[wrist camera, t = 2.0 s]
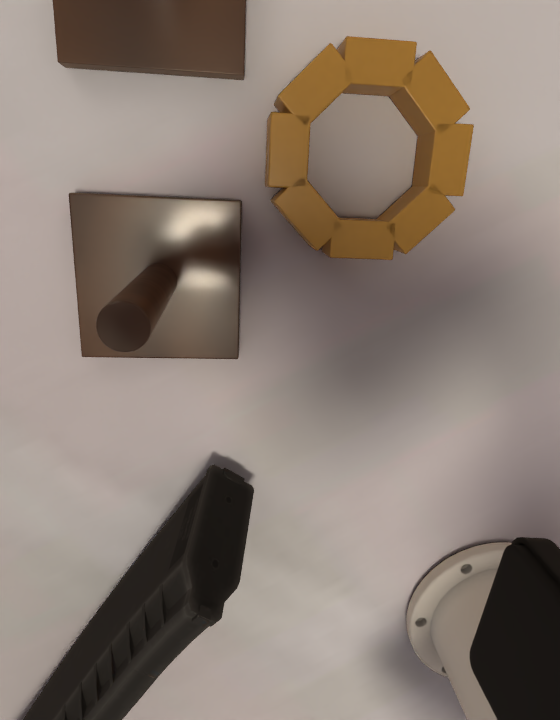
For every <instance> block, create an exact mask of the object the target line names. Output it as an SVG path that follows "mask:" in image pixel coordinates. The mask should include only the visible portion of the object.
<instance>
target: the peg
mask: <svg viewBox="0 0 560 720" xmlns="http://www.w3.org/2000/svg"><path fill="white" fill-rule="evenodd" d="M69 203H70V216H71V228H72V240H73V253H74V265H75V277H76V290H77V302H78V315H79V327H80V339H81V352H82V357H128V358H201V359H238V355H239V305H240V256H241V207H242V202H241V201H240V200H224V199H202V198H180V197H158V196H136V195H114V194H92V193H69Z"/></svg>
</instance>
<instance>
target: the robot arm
mask: <svg viewBox="0 0 560 720" xmlns="http://www.w3.org/2000/svg"><path fill="white" fill-rule="evenodd" d="M406 624H407V632H408V635H409V639H410V642H411V644H412V646H413V648H414V651H415V653H416V655H417V656H418V657H419V659H420V660H421V661H422V662H423V663H424V664H425V665H426V666H427V667H429V668H430V669H431V670H432V671H434V672H436V673H438V674H440V675H442V676H445V677H448V678H449V680H450V682H451V685H452V687H453V689H454V691H455V693H456V696H457V698H458V700H459V702H460V705H461V707H462V709H463V711H464V714H465V716H466V718H467V720H560V549H559V548H558V547H557V546H556V544H555V543H553V542H552V541H551V540H549V539H544V538H523V537H520V538H516V539H515V540H514V541H513V542H512V543H508V542H505V543H489V544H483V545H478V546H474V547H472V548H469V549H466V550H463V551H460V552H459V553H457V554H455V555H453V556H451V557H449V558H447V559H446V560H444V561H443V562H442V563H440V564H439V565H438V566H436V567H435V568H434V569H433V570H432V571H431V572H430V573H429V574H428V575H427V576H426V577H425V578H424V579H423V580H422V581H421V583H420V584H419V586H418V587H417V589H416V590H415V592H414V594H413V596H412V598H411V601H410V603H409V606H408V611H407V616H406Z"/></svg>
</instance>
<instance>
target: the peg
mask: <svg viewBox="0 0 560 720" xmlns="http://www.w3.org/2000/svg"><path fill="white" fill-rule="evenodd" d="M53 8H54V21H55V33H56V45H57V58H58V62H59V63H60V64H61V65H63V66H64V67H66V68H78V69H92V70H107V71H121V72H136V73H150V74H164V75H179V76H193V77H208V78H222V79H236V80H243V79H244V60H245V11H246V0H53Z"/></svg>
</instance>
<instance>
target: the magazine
mask: <svg viewBox="0 0 560 720" xmlns="http://www.w3.org/2000/svg"><path fill="white" fill-rule="evenodd" d="M253 493H254V489H253V487H252V486H251V485H250V484H248V483H246V482H244V478H242V477H240V476H239V475H237V474H235V473H233V472H232V471H230V470H228V469H226V468H224V469H221V468H220V467H218V466H216V465H212V466H210V468H209V469H208V470H207V473H206V476H205V477H204V478H203V479H202V480H201V482H200V483H199V484H198V485H197V487H196V488H195V489H194V490H193V491H192V493H191V494H190V495H189V496H188V498H187V499H186V500H185V501H184V503H183V504H182V505H181V506H180V507H179V509H178V510H177V511H176V512H175V514H174V515H173V516H172V517H171V518H170V520H169V521H168V522H167V523H166V525H165V526H164V527H163V528H162V529H161V531H160V532H159V533H158V534H157V536H156V537H155V538H154V539H153V540H152V542H151V543H150V544H149V546H148V547H147V548H146V549H145V551H144V552H143V553H142V554H141V556H140V557H139V558H138V559H137V561H136V562H135V563H134V565H133V566H132V567H131V568H130V570H129V571H128V572H127V574H126V575H125V576H124V577H123V579H122V580H121V581H120V583H119V584H118V585H117V587H116V588H115V589H114V591H113V592H112V593H111V595H110V596H109V597H108V599H107V600H106V601H105V603H104V604H103V605H102V607H101V608H100V609H99V611H98V612H97V613H96V615H95V616H94V618H93V619H92V620H91V622H90V623H89V624H88V626H87V627H86V629H85V630H84V631H83V633H82V634H81V636H80V637H79V638H78V640H77V641H76V643H75V644H74V646H73V647H72V648H71V650H70V651H69V653H68V654H67V656H66V657H65V658H64V660H63V661H62V663H61V664H60V666H59V667H58V669H57V670H56V672H55V673H54V675H53V676H52V678H51V679H50V681H49V682H48V684H47V685H46V687H45V688H44V689H43V691H42V692H41V694H40V695H39V697H38V698H37V700H36V701H35V703H34V704H33V706H32V707H31V709H30V710H29V712H28V713H27V715H26V716H25V718H24V719H23V720H122V719H123V718H124V717H125V716H126V715H127V713H128V712H129V711H130V710H131V708H132V707H133V706H134V705H135V704H136V703H137V701H138V700H139V699H140V698H141V697H142V696H143V694H144V693H145V692H146V691H147V690H148V688H149V687H150V686H151V685H152V684H153V682H154V681H155V680H156V679H157V678H158V676H159V675H160V674H161V673H162V672H163V671H164V670H165V669H166V667H167V666H168V665H169V664H170V663H171V662H172V661H173V660H174V659H175V658H176V657H177V656H178V655H179V654H180V653H181V652H182V651H183V650H184V649H185V648H186V647H187V646H188V645H189V644H190V643H191V642H192V641H193V640H194V639H195V638H196V637H197V636H198V635H199V634H201V633H202V632H203V631H204V630H205V629H206V628H207V627H209V626H212V625H214V624H215V623H216V622H218V621H219V620H220V619H221V618H222V613H223V607H224V602H225V601H226V600H227V599H228V598H229V597H230V595H231V594H232V593H233V592H234V591H235V590H236V589H237V587H238V585H239V582H240V576H241V570H242V563H243V557H244V551H245V544H246V538H247V531H248V525H249V519H250V512H251V506H252V500H253Z"/></svg>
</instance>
